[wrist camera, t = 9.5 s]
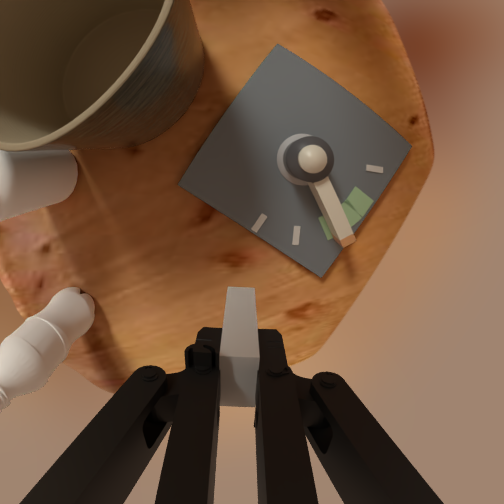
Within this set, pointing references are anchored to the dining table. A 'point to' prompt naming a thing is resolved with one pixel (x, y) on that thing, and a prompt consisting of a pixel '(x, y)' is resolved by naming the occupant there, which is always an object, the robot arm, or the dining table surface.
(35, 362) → the water bottle
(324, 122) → the dial board
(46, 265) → the dining table surface
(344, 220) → the peg lever
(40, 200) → the potion bottle
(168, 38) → the planter
